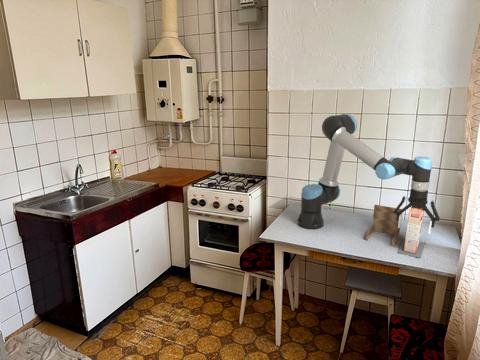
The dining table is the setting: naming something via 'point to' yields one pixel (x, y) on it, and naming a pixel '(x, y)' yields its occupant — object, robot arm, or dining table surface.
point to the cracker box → (413, 229)
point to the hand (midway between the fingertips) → (414, 230)
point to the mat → (418, 253)
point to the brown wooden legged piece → (385, 222)
